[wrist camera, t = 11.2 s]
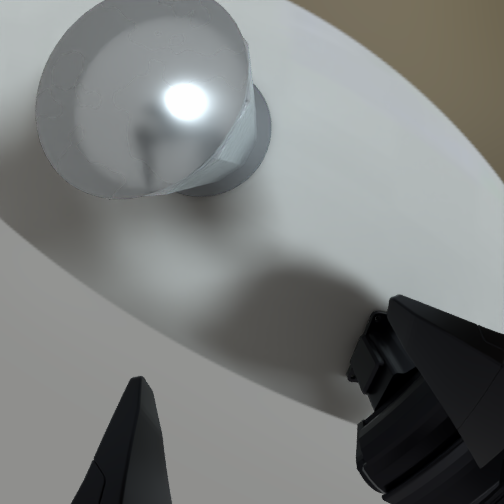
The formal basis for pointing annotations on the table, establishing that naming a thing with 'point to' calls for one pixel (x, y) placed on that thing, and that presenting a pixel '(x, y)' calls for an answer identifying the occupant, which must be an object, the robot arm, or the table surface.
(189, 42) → the grey cup
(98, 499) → the robot arm
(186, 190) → the rubber pad
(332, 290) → the table surface
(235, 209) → the table surface
